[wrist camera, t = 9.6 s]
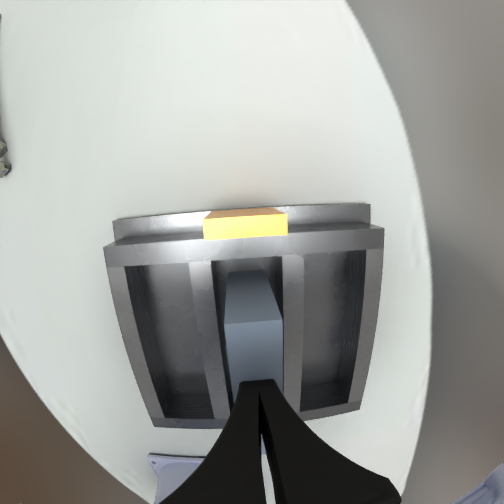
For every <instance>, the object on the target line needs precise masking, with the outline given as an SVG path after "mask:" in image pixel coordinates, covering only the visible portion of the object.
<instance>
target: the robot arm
mask: <svg viewBox="0 0 504 504" xmlns="http://www.w3.org/2000/svg"><path fill="white" fill-rule="evenodd" d="M261 434H262V438H263V442H264V447H265V451H266V455H267V459H268V463H269V467H270V471H271V476H272V481H273V487H274V495H275V502H276V504H400V503H401V501H402V500H401V497H400V495H399V493H398V491H397V489H396V488H395V487H394V485H393V484H392V483H391V481H390V480H389V479H388V478H386V477H383V476H381V475H378V474H376V473H374V472H372V471H369V470H367V469H365V468H363V467H362V466H360V465H358V464H356V463H354V462H352V461H351V460H349V459H348V458H346V457H345V456H343V455H342V454H340V453H339V452H337V451H336V450H334V449H333V448H332V447H330V446H329V445H328V444H327V443H325V442H324V441H323V440H322V439H321V438H319V437H318V436H317V435H316V434H315V433H314V432H313V431H312V430H311V429H310V428H309V427H308V426H307V425H306V424H305V423H304V422H303V421H302V419H301V418H300V417H299V416H298V415H297V414H296V412H295V411H294V410H293V408H292V407H291V406H290V405H289V403H288V402H287V400H286V399H285V397H284V396H283V394H282V393H281V391H280V389H279V387H278V386H277V384H276V381H275V380H274V379H265V380H254V381H242V382H240V383H239V389H238V393H237V397H236V400H235V403H234V406H233V409H232V411H231V414H230V416H229V418H228V420H227V422H226V424H225V426H224V428H223V430H222V432H221V434H220V436H219V438H218V439H217V441H216V443H215V444H214V446H213V447H212V449H211V450H210V452H209V453H208V455H207V456H206V457H205V458H187V457H171V456H160V455H148V461H149V462H150V464H151V466H152V467H153V469H154V470H155V472H156V474H157V475H158V477H159V480H158V485H157V491H156V496H155V501H154V504H266V496H265V489H264V481H263V473H262V465H261ZM451 504H504V462H503V463H502V464H500V465H499V466H498V467H497V468H496V469H495V470H494V471H493V472H491V473H490V475H489V476H488V477H487V478H486V479H485V481H483V482H482V483H481V484H479V485H478V486H477V487H475V488H474V489H472V490H471V491H470V492H468V493H467V494H465V495H464V496H462V497H461V498H459V499H458V500H456V501H454V502H453V503H451Z"/></svg>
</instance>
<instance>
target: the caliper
mask: <svg viewBox="0 0 504 504" xmlns="http://www.w3.org/2000/svg"><path fill="white" fill-rule="evenodd" d="M0 17H1V14H0ZM7 151H8V150H7V145H6V144H5V143H3V142H2V141H1V140H0V158H1V157H2V156H3V155H4V154H5V153H6V152H7ZM10 167H11V165H10V164H6V163H3V162H0V178H2V177H3V176H4V175H5V174H6V173H7V172H8V171H9V169H10Z"/></svg>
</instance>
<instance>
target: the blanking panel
mask: <svg viewBox="0 0 504 504" xmlns="http://www.w3.org/2000/svg"><path fill="white" fill-rule="evenodd" d="M224 328H225V337H226V346H227V354H228V362H229V370H230V378H231V385H232V393H233V400H234V403H235V400H236V397H237V393H238V389H239V383H240V382H242V381H254V380H265V379H274V380H275V381H276V384H277V386H278V387H279V389H280V391H281V393H282V394H283V322H282V317H281V314H280V311H279V308H278V306H277V303H276V300H275V297H274V295H273V292H272V289H271V286H270V284H269V281H268V278H267V275H266V273H265V270H254V271H240V272H228V275H227V289H226V302H225V317H224ZM261 454H266V451H265V447H264V442H263V438H262V434H261Z"/></svg>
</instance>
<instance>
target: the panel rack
mask: <svg viewBox="0 0 504 504" xmlns="http://www.w3.org/2000/svg"><path fill="white" fill-rule="evenodd" d="M113 230H114V238H115V242H113V243H111V244H109V245H107V246H105V247H103V249H104V256H105V262H106V267H107V273H108V278H109V283H110V288H111V293H112V297H113V302H114V306H115V310H116V314H117V318H118V322H119V326H120V330H121V334H122V337H123V341H124V344H125V348H126V351H127V354H128V357H129V361H130V364H131V367H132V370H133V373H134V376H135V379H136V381H137V384H138V387H139V390H140V393H141V395H142V398H143V400H144V403H145V406H146V408H147V411H148V413H149V415H150V418H151V420H152V423H153V425H154V427H165V428H187V429H223V428H224V426H225V424H226V422H227V420H228V418H229V416H230V414H231V411H232V409H233V406H234V400H233V393H232V385H231V378H230V370H229V362H228V354H227V346H226V337H225V328H224V317H225V302H226V289H227V275H228V272H240V271H254V270H265V273H266V275H267V278H268V281H269V284H270V286H271V289H272V292H273V295H274V297H275V300H276V303H277V306H278V308H279V311H280V314H281V317H282V322H283V396H284V397H285V399H286V400H287V402H288V403H289V405H290V406H291V407H292V408H293V410H294V411H295V412H296V414H297V415H298V416H299V417H300V418H301V419H302V421H307V420H313V419H318V418H324V417H329V416H334V415H339V414H343V413H347V412H352V411H356V410H359V409H360V405H361V401H362V397H363V393H364V389H365V384H366V380H367V375H368V370H369V365H370V360H371V355H372V349H373V343H374V337H375V331H376V324H377V317H378V309H379V300H380V291H381V280H382V268H383V251H384V228H382V227H379V226H375V225H372V224H370V204H320V205H293V206H272V207H254V208H238V209H224V210H210V211H198V212H186V213H175V214H165V215H155V216H146V217H136V218H128V219H119V220H114V221H113Z"/></svg>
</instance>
